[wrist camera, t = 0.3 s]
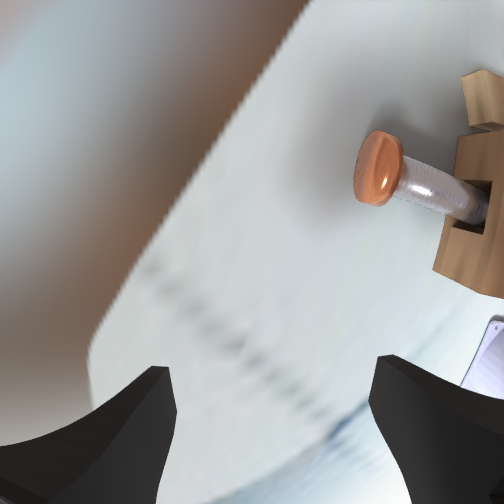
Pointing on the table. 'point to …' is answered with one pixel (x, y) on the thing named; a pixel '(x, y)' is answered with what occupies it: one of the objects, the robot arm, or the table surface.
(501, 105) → the block
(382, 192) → the pin
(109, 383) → the table surface
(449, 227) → the block
